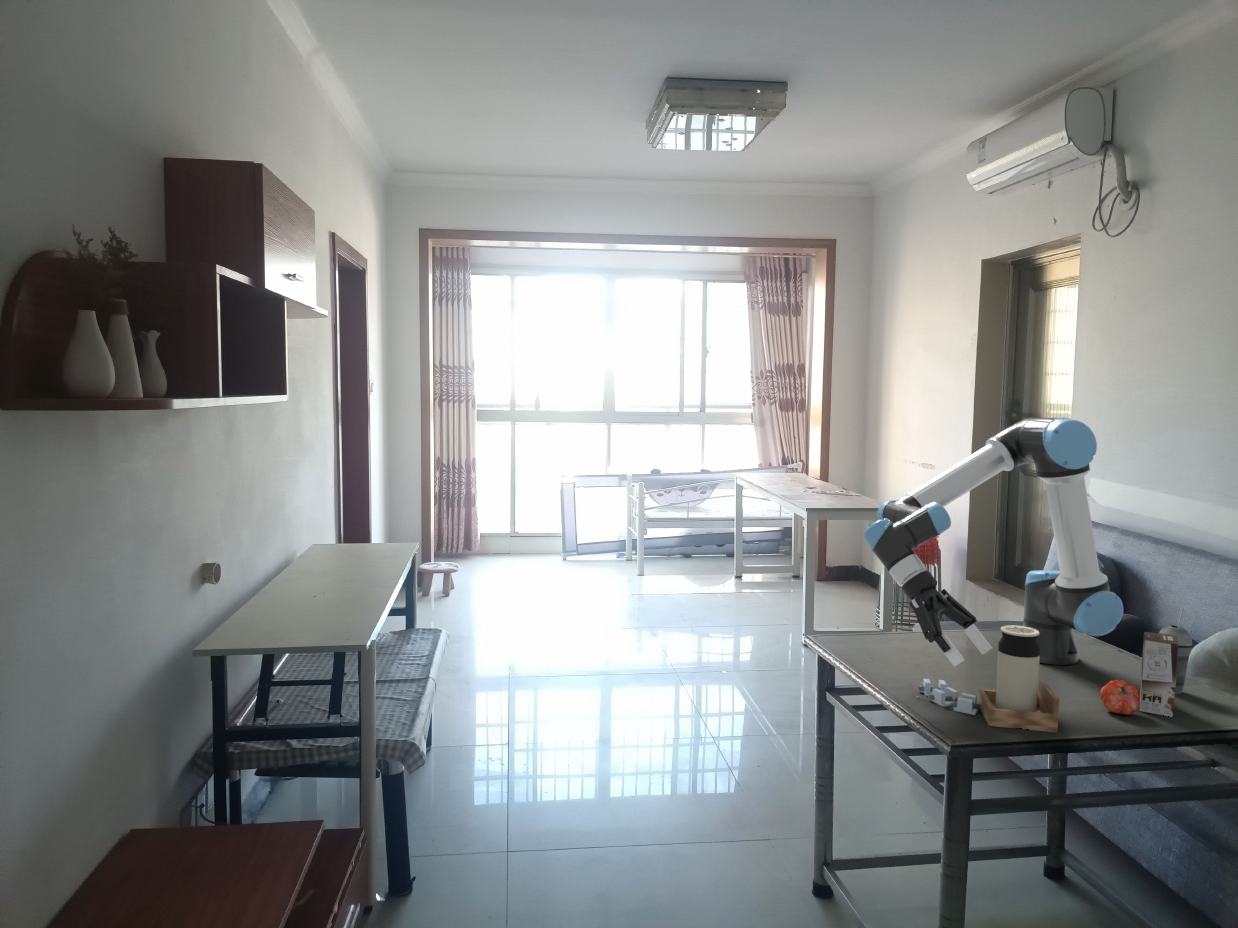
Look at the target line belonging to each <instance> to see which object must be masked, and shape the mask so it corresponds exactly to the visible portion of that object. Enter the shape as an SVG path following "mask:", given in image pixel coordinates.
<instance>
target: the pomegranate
mask: <svg viewBox="0 0 1238 928" xmlns="http://www.w3.org/2000/svg"><path fill="white" fill-rule="evenodd" d="M1100 689H1101V690H1100V699H1101V700H1102V702H1103V703H1102V704H1103V706H1104V708H1106V709H1107V711H1109V712H1111V713H1113V714H1118V715H1126V716H1130V715H1133V714H1135V713H1136V712H1137V711H1138V709H1140V691H1139V689H1137V687H1136V686H1134V685H1131V684H1129V683H1128V682H1126V681H1125V680H1122V679H1113V680H1110V681H1109V682H1107V683H1106V685H1103V686H1102V687H1101V688H1100Z"/></svg>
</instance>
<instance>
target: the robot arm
mask: <svg viewBox="0 0 1238 928" xmlns="http://www.w3.org/2000/svg"><path fill="white" fill-rule="evenodd" d="M1097 443H1098V442H1097V438H1096V435H1095V434H1094V432H1093V430H1092V429H1091V428H1090V427H1089V426H1088V425H1087V424H1086V423H1084V422H1082V421H1080V420H1077V419H1072V418H1068V417H1067V418H1066V417H1035V416H1034V417H1029V418H1026V419H1023V420H1020V421H1018V422H1015V423H1014V424H1012V425H1010V426H1008V427H1005V428H1004V429H1002V430H1001V431H1000V432H998V433H996V434H994V435H993V436H991V437H990V438H988V439H986V441H985V445H984V446H982V447H981V448H979V449H978V450H976V451H975V452H973V453H971V454H970V455H969V456H967V457H965V458H963V459H961V460H960V461H959V462H957V463H955V464H954V465H952V466H951V467H949V468H947V469H946V470H944V471H943V472H941V473H940V474H938V475H936V476H934V477H933V478H931V479H930V480H928V481H926V482H925V483H924V484H921V485H920V486H919V487H917V488H915V489H914V490H912V491H911V492H908V494H906V495H904V496H902V497H901V498H899V499H897V500H886V501H884V502H883V503H881V504H880V506H878V508H877V509H878V510H877V512H876V518H877V520H876V521H875V522H873V523H872V524H871V525H869V526H868V527H866V529H865V531H864V533H863V538H864V540H865V542H866V543H867V545H868V546H869V548H870V550H871V552H873V554H875V556H876V558H877V559H878V560H879V561H880V562H881V563H882V565H883V566H884V567H885V569H886V570H887V571H888V573H889V574H890V576H891V577H892V579H893V580H894V582H896V583H897V585H898V586H900V587H901V590H902V592H903V594H904V595H905V596H906V597H907V598H908V600H909V601H910V602H908V604H909V605H910V607H911V609H912V610H913V612H914V614H915V618H916V619H917V623H918V625H919V627H920V630H921V631H922V634H923V636H924V638H925V640H927V641H928V642H929V643H931V644H932V643H933V642H935V643H936V644H937V646H938V647H939V648H940V650H941V652H943V654H944V655H945V657H946V658H947V659H948V660H949V662H950V663H951V665H952V666H953V667H954V668H955V667H957V666H958V665H960V664H961V663H963V662H964V661H965V660H966V659H965V658H964V657H963V655H962V653H960V651H959V650H958V648H957V647H956V645H954V643H953V642H952V640H951V639H950V638H949V637H948V635H947V634H946V633H945V634H944V633H943V631H942V627H941V626H942V625H941V623H940V617H939V614H940V615H944V616H946V617H947V618H949V619H950V620H952V621H953V622H954V623H956V624H957V625H959V626H961V628H963V629H964V630H963V631H964V633H965V634H966V635H967V637H968V638H969V640H970V641H971V642H972V644H973V645H974V646H975V647H976V648H977V650H978V651H979V652H980V653H981V655H985V654H986V653H988V652H989V651H992V649H993V646H992V645H991V644H990V642H989V641H988V640H987V639H986V637H985V636H984V635H983V634H982V632H981V631H980V630H979V628H978V627H977V626H976V625H975V623H977V622H978V619H977V618H976V616H975V615H973V614H972V613H971V612H970V611H969V610H968V609H967V608H965V607H964V606H963V605H962V604H961V603H960V602H958V601H957V600H956V598H954V597H953V596H951V594H950V593H949V592H948V591H947V589H945V588H943V589H942V590H940V591H939V590H937V589H936V587H937V585H938V580H937V579H936V578H935V577H934V576H933V574H932V572H930V571H929V570H927V566H926V565H925V564H924V563H923V562H922V560H921V559H920V558H919V556H918V555H917V553H916V552H915V551H914V550H915V549H917V548H918V547H920V546H922V545H924V544H925V543H927V542H929V541H930V540H932V539H934V538H936V537H939V536H940V535H941V534H943V533H944V532H946V531H948V529H950V528H951V526H952V525H951V524H952V520H951V517H950V515H949V513H948V511H947V510H946V508H945V507H946V506H948V505H949V504H950V503H952V502H955V500H957V499H959V498H961V497H962V496H964V495H965V494H967V493H968V492H970V491H973V489H975V488H976V487H978V486H980V485H982V484H983V483H985V482H986V481H989V480H990V479H991V478H993V477H994V476H996V475H998V474H999V473H1001V472H1003V471H1005V472H1011V471H1012V470H1013V469H1015V468H1017V467H1020V466H1022V465H1025V464H1027V465H1028V464H1034V467H1035V473H1036V477H1037V478H1038V479H1040V480H1041V481H1043V482H1044V485H1045V490H1046V491H1045V492H1046V496H1047V501H1048V508H1049V513H1050V521H1051V526H1052V533H1053V538H1054V543H1055V551H1056V556H1057V562H1058V567H1059V570H1051V569H1048V570H1047V569H1043V570H1041V569H1040V570H1039V569H1038V570H1030V571H1029V572H1027V574H1026V578H1025V583H1024V602H1023V603H1024V607H1023V623H1022V626H1024V627H1029V628H1033V629H1036V630H1037V631H1039V633H1040V634H1039V635H1038V637H1037V642H1038V644H1039V646H1040V659H1039V664H1040V663H1041V664H1048V665H1059V666H1060V665H1061V666H1062V665H1063V666H1064V665H1065V666H1067V665H1074V664H1076V663H1078V662H1079V650H1078V649H1079V648H1078V646H1077V642H1076V638H1075V635H1074V633H1073V630H1076V631H1077V632H1079V633H1081V634H1084V635H1088V636H1093V637H1100V636H1101V637H1102V636H1105V635H1108V634H1109V633H1111V632H1113V631H1114V630H1115V629H1116V628H1117V625H1118V624H1120V622H1121V620H1122V618H1123V616H1124V605H1123V601H1122V599H1121V597H1119V596H1118V595H1117V594H1116V593H1115V592H1113V591H1111V590H1110V589H1111V588H1110V584H1109V578H1108V575H1106V574H1105V573H1103V572H1101V571H1100V566H1099V565H1100V564H1099V561H1098V553H1097V548H1096V547H1097V546H1096V541H1095V535H1094V531H1093V529H1094V528H1093V524H1092V517H1091V512H1090V507H1089V506H1090V505H1089V498H1088V494H1087V493H1088V492H1087V488H1086V480H1085V477H1086V475H1088V474H1089V472H1090V471H1091V468H1090V463H1091V462H1092V461H1093V459H1094V455H1096V453H1097V449H1098V444H1097Z"/></svg>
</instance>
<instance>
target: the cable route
mask: <svg viewBox="0 0 1238 928" xmlns="http://www.w3.org/2000/svg"><path fill="white" fill-rule="evenodd" d="M931 685H932V684H931V681H930V678H923V685H919V686H917V690H918V691H920V692H923V694H924V696H925V697H927V699H929V700H930V701H931V702H933V703H935V704H936V705H938V706H941V707H943V708H945V707H952V708H953V711H954V712H959V713H963V714H968V715H973V716H976V714H977V713H978V712H979V710H980V704H977V703H978V695H974V694H970V693H964V692H962V693H961V694H960V696H959V690H957V689H955V688H952V687H950V686H947V683H946V681H945V680H943V679H938V686H931ZM980 711H981V710H980Z"/></svg>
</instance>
